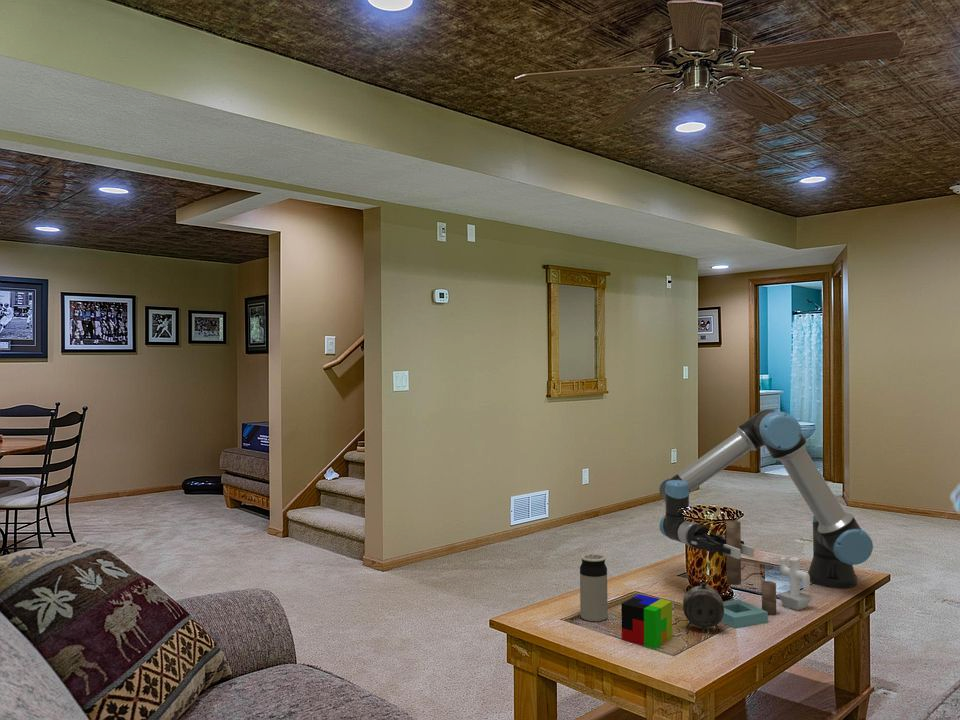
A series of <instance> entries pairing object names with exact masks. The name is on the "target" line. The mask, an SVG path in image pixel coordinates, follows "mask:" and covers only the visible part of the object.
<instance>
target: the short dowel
mask: <svg viewBox="0 0 960 720" xmlns="http://www.w3.org/2000/svg"><path fill="white" fill-rule="evenodd" d="M761 609H762V610H764V611H767V612H768V616H776V615H777V583H776V582H775V581H771V580H764V581H761Z"/></svg>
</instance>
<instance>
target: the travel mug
mask: <svg viewBox="0 0 960 720" xmlns="http://www.w3.org/2000/svg"><path fill="white" fill-rule="evenodd" d="M580 559H581V564H580V567H579V601H580V606H579V607H580V610H579V611H580V614H579V615H580V616H579V617H580V618H581V619H583V620H585V621H589V622H595V623H596V622H602V621H605V620H606V619H608V606H609V605H608V566H607V565H606V559H607V557H606V555H603V554H600V553H584V554H582V555H580Z"/></svg>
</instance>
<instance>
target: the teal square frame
mask: <svg viewBox="0 0 960 720" xmlns="http://www.w3.org/2000/svg"><path fill="white" fill-rule="evenodd" d="M723 606H724V615H723V618H722V620H721V621H720V623H723V624H725V625H726V626H729V627H731V628H733V629H738V628H744V627H750V626H756V625H760V624H767V623H769V615H768V612H767V611H764V610H762V608H759V607H757V606H755V605H753V604H750V603H748V602H745V601H743V600H741V599H733V600H727V601H723Z"/></svg>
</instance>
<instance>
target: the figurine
mask: <svg viewBox="0 0 960 720" xmlns="http://www.w3.org/2000/svg"><path fill="white" fill-rule="evenodd" d="M787 560H789V566H788V561H787ZM779 568H780V569H779V570H780V574H781V575H782V576H785V577H789V590H787V591H783V592H779V593H776V596H778V598H779V599H780V601H781V603H782V605H783V606H784V607H785V608H788V607H789V608H788V609H791V608H792V609H791V610H794V609H795V611H800V610H803V608H804V609H806V608H807V607H808V605H809V604H810V602H811V601H812V598H813V597H814V596H813V595H810V594H806V593H803V592H801V589H800V588H801V587H800V586H801V583H800V582H802V590H803V591H806V592H807V591H810V589H811V581H810V576H809V574H808V571H803V570H801V562H800V558H799V557H796V556H793V557H790V558H788V559H787V557H786V556H781V557H780V558H779ZM799 609H800V610H799Z"/></svg>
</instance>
